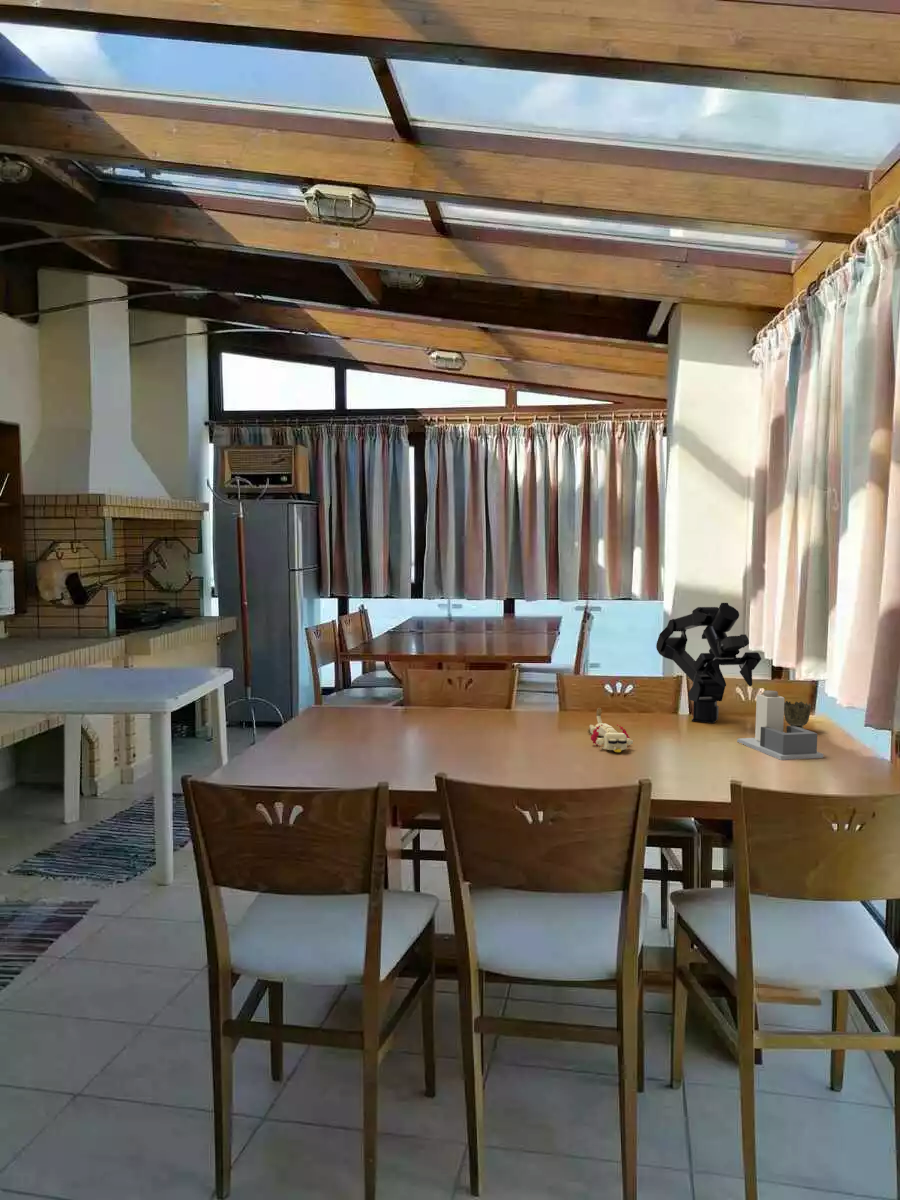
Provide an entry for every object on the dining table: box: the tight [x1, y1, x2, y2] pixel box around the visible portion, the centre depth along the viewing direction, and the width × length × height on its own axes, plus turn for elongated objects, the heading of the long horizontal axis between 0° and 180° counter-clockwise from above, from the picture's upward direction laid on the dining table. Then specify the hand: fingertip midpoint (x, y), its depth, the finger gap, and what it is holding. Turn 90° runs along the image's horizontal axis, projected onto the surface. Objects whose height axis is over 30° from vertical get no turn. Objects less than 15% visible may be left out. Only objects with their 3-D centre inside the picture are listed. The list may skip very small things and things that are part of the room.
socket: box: [736, 725, 824, 761], centre depth 235 cm, size 20×12×6 cm, turn 13°
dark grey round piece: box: [784, 700, 812, 729], centre depth 259 cm, size 8×7×8 cm
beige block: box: [754, 689, 785, 741], centre depth 239 cm, size 5×5×13 cm
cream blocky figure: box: [587, 707, 634, 753], centre depth 239 cm, size 10×9×25 cm
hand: (738, 685), depth 254 cm, fingers open, 8 cm apart
